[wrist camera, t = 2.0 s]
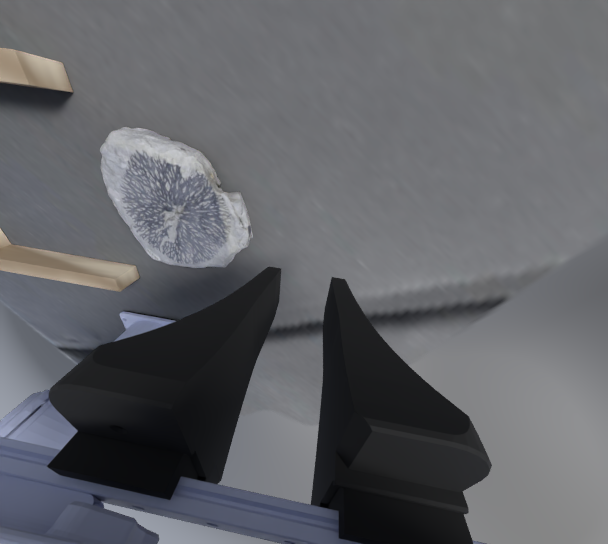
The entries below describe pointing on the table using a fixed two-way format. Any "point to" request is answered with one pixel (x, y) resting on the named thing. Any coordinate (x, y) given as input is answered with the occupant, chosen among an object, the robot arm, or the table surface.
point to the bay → (44, 263)
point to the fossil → (173, 200)
